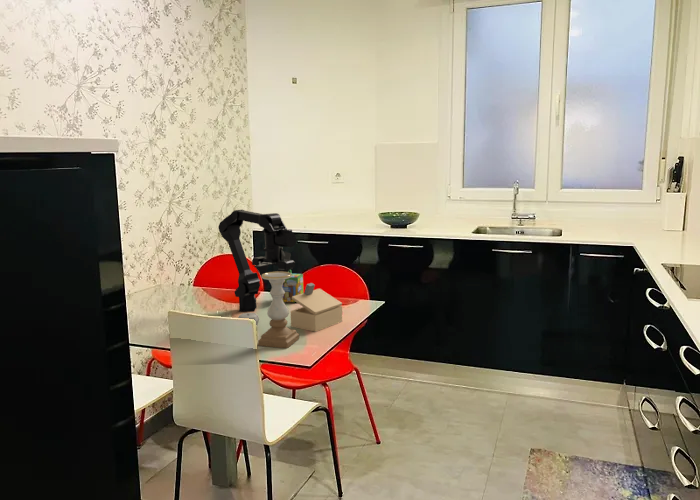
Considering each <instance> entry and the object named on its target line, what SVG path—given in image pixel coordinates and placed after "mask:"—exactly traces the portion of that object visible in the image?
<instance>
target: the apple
mask: <svg viewBox="0 0 700 500" xmlns="http://www.w3.org/2000/svg"><path fill="white" fill-rule="evenodd" d="M237 318H249V319H254V320H255V321H256V325H257V326H258V325H259V321H260V317H259V315H258V313H256V312H244V313H240V314H239V315H238V317H237Z"/></svg>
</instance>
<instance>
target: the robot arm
mask: <svg viewBox="0 0 700 500" xmlns="http://www.w3.org/2000/svg"><path fill="white" fill-rule="evenodd" d="M244 222H247V223H252V224H257V225H258V226H259V227H260V228H263V229H262V230H261V231H260V234H261V235H263V234H264V244H265V245H264V248H262V251H263V252H265V256H257V257H253V258H252V259H251V265H252V266H254V268H255V269H256V270H257V272H258V273H257V272H254V271H252V270H251V268H250V265H249V262H248V259H247V255H246V253H245V251H244V248H243V245H242V241H241V239H240V237H241V227H242V225H243V224H244ZM218 231H219V233H220V236H221V237H222V239H224V240H225V241H226V242H227V243H228V246H229V249H230V252H231V255H232V257H233V260H234V263H235V267H236V269H237V272H238V277H237V278H238V279H237V283H238V286H237V288H235V290H234V296H235V297H236V298H238V303H239V304H238V305H239V306H238V307H239V309H238V312H240V313H241V312H255V311H256V309H257V307H258V305H257V304H258V303H257V297H256V295H258V294H259V290H260V287H261V280H260V278H259V275H260V277H261V279H262V280H263V283H265V284H267V283H268V280H266V279H263V278H262V274H264V273H268V268H269V267H270V266H277V272H278V271H281V272H289V273H290V270H291V271H292V270H293V268H296V262H295V261H294V260H293V259H291V256H292V255H291V254H292V253H290V252H288V251H284V250H283V247H284V248H293V247H294V246H295V245H296V244H297V243H296V242H297V237H296V234H295V233H294V232H293V230H292V229H288V228H287V227H286V225H285V223H284V220H282V217H281V215H280V214H279V213H259V212H253V211H250V210H244V209H237V210H233V211H231V213H230V214H229V215H228V216H226V217H225V218H224V219H222V220H221V221H220V222H219V223H218ZM258 274H259V275H258ZM284 282H285V281H284ZM283 285H284V283H283Z"/></svg>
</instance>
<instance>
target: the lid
mask: <svg viewBox="0 0 700 500" xmlns="http://www.w3.org/2000/svg"><path fill="white" fill-rule="evenodd" d="M315 286H316V284H314V283H313V282H310V283H307V284H306V286H305V289H304V291H303V292H304V293H303V294H299V295H296V296H292V300H294V301H295V302H297V303H296V304H298V305H300V306H301V307H304V308H306V309H307V310H309V311H310V312H311V313H313V314H314V315H316V314H318V313H321V312H324V311H327V310H330V309H333V308H336V307H338V306H342V305H343V302H341V301H340V300H338V299H337V298H336V297H334V296H332V295H331V294H329V293H327V292H326V291H324V290H323V289H322V288H316V289H315ZM295 302H294V303H295Z"/></svg>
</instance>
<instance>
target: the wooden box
mask: <svg viewBox="0 0 700 500" xmlns="http://www.w3.org/2000/svg"><path fill="white" fill-rule="evenodd" d="M342 322H343V306H342V305H341V306H338V307H336V308H333V309H330V310H327V311H324V312H321V313H318V314H316V315H314V314H313V313H311V312H310V311H309V310H307V309H306V308H304V307H303V306H301V307H298V308H296V309H293V310H290V327H292V328H297V329H301V330H307V331H311V332H315V333H317V332H319V331H321V330H323V329H326V328H329V327H332V326H334V325H336V324H339V323H342Z"/></svg>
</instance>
